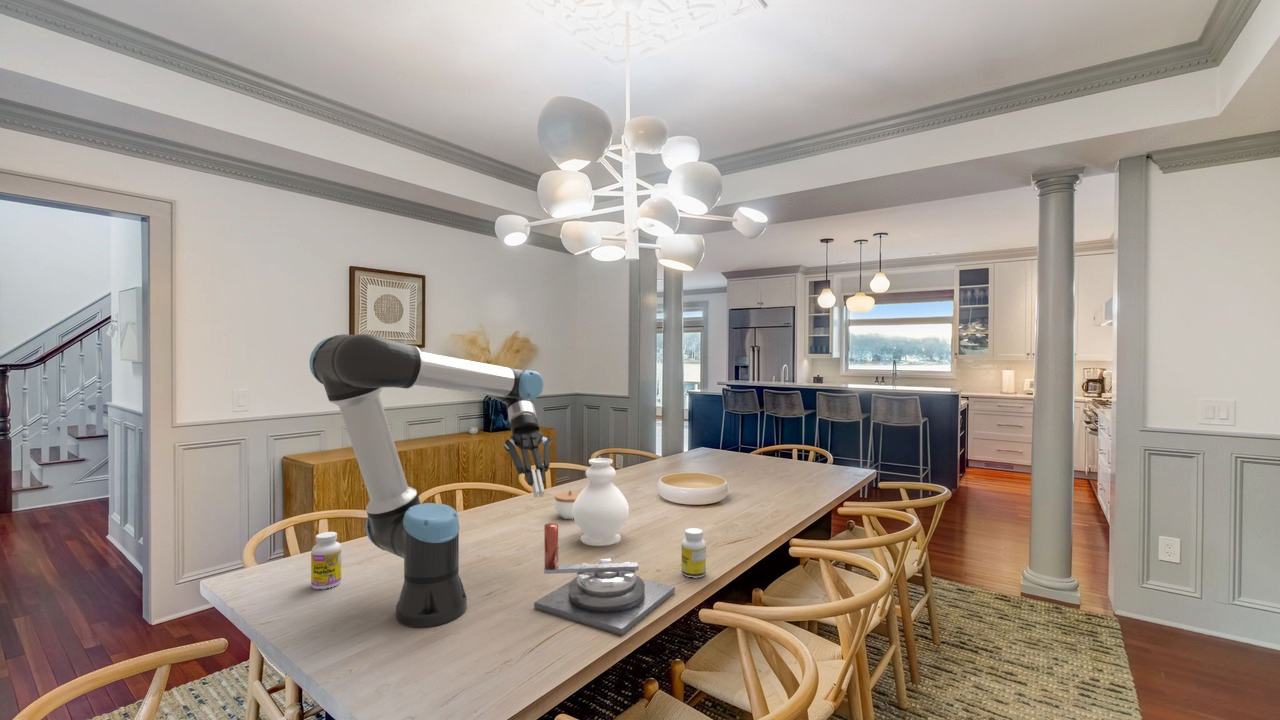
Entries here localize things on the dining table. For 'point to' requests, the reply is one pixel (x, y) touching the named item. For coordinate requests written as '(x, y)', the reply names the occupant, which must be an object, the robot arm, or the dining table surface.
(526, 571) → the dining table surface
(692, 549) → the pill bottle
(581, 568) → the red grip crank lever
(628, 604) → the grey crank base
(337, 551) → the supplement bottle
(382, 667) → the dining table surface
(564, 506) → the lidded jar
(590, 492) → the decorative vase
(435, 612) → the robot arm
